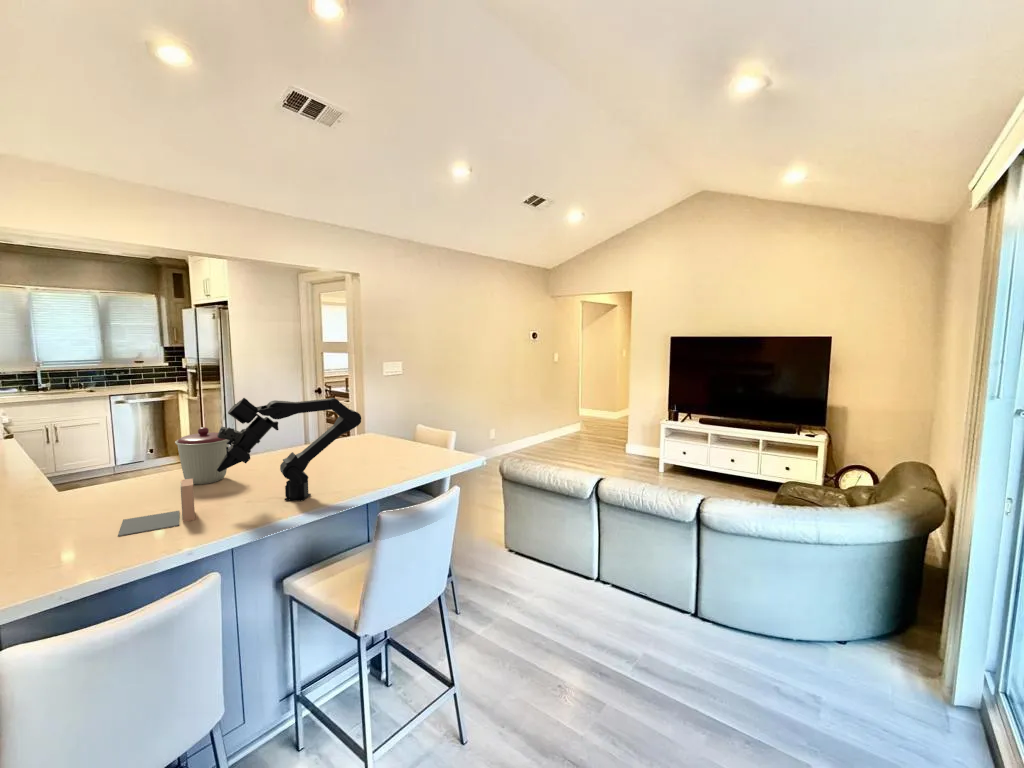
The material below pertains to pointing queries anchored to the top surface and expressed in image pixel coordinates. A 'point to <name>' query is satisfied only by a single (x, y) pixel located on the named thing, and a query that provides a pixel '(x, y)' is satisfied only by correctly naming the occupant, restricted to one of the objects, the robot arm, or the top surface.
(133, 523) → the mat
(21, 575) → the top surface
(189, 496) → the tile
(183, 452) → the canister
